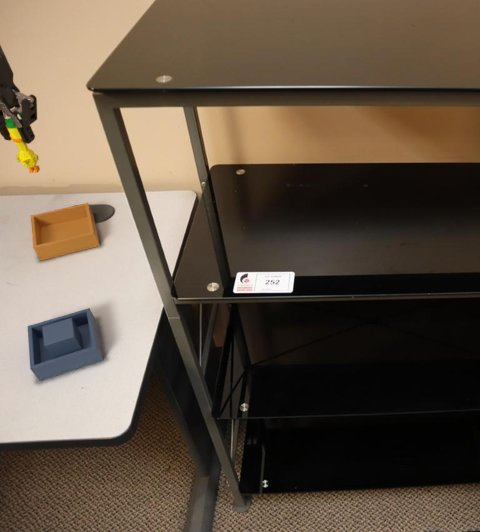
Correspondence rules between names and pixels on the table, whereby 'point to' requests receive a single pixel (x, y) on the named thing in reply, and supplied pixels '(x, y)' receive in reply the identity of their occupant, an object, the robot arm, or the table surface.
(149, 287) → the table surface
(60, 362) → the blue bin
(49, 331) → the blue block
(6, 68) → the robot arm
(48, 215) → the ochre bin
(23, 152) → the toy figure
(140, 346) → the table surface
